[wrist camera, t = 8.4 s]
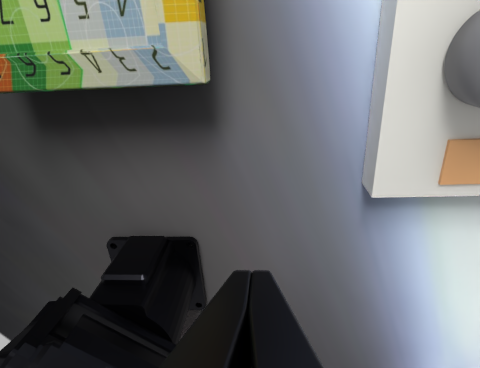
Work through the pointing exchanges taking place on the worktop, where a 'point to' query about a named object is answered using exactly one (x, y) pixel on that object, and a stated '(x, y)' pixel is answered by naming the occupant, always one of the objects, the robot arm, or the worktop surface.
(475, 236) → the worktop surface
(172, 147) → the worktop surface
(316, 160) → the worktop surface
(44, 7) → the puzzle game
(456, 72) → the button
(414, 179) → the button board
